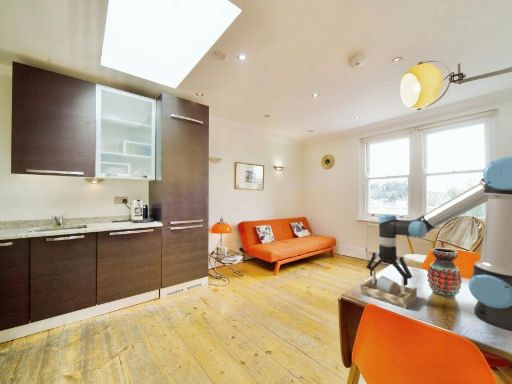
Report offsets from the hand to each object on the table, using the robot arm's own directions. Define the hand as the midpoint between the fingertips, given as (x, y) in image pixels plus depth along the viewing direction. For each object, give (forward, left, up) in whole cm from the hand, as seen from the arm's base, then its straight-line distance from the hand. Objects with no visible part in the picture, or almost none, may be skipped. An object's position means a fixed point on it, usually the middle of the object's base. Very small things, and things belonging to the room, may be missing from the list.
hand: (388, 287), depth 112 cm
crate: (0, 0, -4) cm, 4 cm away
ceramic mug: (0, -1, -4) cm, 4 cm away
